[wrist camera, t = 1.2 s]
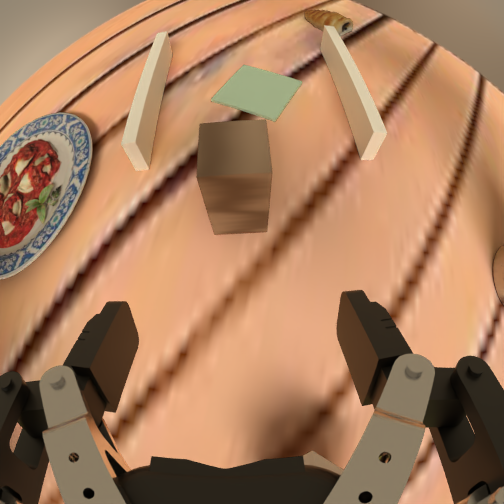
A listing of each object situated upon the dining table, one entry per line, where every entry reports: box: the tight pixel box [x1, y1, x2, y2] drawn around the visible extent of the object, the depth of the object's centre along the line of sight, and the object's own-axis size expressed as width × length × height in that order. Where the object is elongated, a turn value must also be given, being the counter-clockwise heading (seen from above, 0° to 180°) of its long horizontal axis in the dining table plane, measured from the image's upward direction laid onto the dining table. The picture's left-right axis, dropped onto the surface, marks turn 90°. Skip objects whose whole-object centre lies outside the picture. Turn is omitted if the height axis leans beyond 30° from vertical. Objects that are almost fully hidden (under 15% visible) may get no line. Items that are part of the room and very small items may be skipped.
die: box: [303, 450, 344, 475], centre depth 17 cm, size 8×9×10 cm
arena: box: [121, 25, 387, 171], centre depth 33 cm, size 27×24×5 cm
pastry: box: [305, 10, 353, 36], centre depth 42 cm, size 9×7×4 cm
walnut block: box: [197, 120, 272, 235], centre depth 25 cm, size 5×5×10 cm
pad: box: [211, 65, 302, 122], centre depth 35 cm, size 9×9×1 cm
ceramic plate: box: [0, 113, 92, 280], centre depth 30 cm, size 26×26×3 cm
